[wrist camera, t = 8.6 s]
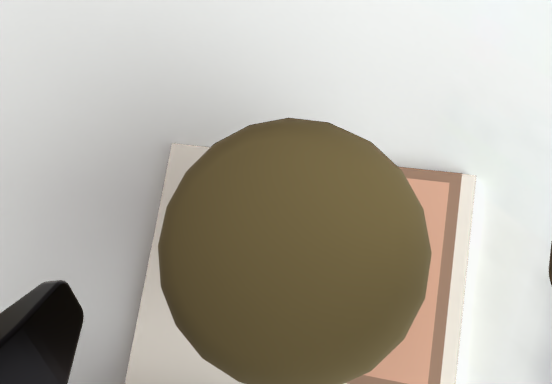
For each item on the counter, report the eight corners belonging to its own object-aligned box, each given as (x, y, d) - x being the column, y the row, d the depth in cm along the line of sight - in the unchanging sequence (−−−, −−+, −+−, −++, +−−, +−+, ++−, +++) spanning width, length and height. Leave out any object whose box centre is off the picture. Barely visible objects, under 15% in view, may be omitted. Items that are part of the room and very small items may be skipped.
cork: (355, 392, 18) (308, 533, 8) (226, 284, 20) (41, 277, 9) (457, 254, 18) (552, 203, 8) (321, 159, 20) (245, 9, 9)
